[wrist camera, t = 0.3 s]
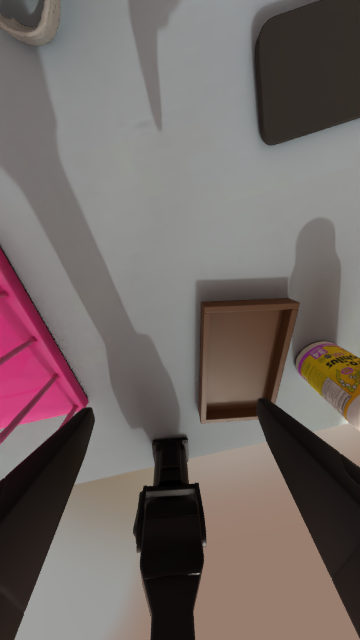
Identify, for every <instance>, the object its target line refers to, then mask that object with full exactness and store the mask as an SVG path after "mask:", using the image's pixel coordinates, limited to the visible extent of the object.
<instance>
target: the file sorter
mask: <svg viewBox="0 0 360 640" xmlns="http://www.w3.org/2000/svg"><path fill="white" fill-rule="evenodd" d="M88 402H89V401H88V399H87V397H86V395H85V394H84V392H83V390H82V389H81V387H80V385H79V383H78V382H77V380H76V378H75V376H74V375H73V373H72V371H71V370H70V368H69V366H68V364H67V363H66V361H65V359H64V357H63V356H62V354H61V352H60V350H59V349H58V347H57V345H56V344H55V342H54V340H53V338H52V337H51V335H50V333H49V331H48V330H47V328H46V326H45V324H44V323H43V321H42V319H41V317H40V316H39V314H38V312H37V311H36V309H35V307H34V305H33V304H32V302H31V300H30V299H29V297H28V295H27V293H26V292H25V290H24V288H23V286H22V285H21V283H20V281H19V279H18V278H17V276H16V274H15V273H14V271H13V269H12V267H11V266H10V264H9V262H8V261H7V259H6V257H5V255H4V254H3V252H2V250H1V248H0V429H1V428H5V429H4V430H3V431H2V432H1V433H0V444H1V443H2V442H3V441H4V440H5V439H6V437H7V436H8V435H9V434H10V433H11V432H12V431H13V429H14V428H15V427H16V426H17V425H20V424H24V423H29V422H34V421H38V420H42V419H47V418H51V417H56V416H61V415H65V414H68V415H67V417H66V418H65V420H64V422H63V423H62V425H61V426H60V428H61V427H62V426H63V425H64V424H65V423H66V422H67V421H69V420H70V419H71V418H72V416H73V415H74V413H75V412H78V411H80V410H81V409H82V408H85V407H86V405H87V404H88ZM60 428H59V429H60Z"/></svg>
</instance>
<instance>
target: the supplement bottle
mask: <svg viewBox="0 0 360 640" xmlns="http://www.w3.org/2000/svg"><path fill="white" fill-rule="evenodd" d="M296 369H297V372H298V373H299V374H300V375H301V376H302V378H303V379H304V380H306V381H307V382H308V383H309V384H310V385H311V386H312V387H313V388H314V389H315V390H316V391H317V392H318V393H319V394H320V395H321V396H322V397H323V398H324V399H325V400H326V401H327V402H329V403H330V404H331V405H332V406H333V407H334V408H335V409H336V410H337V411H338V412H339V413H340V414H341V415H342V416H343V417H344V418H345V419H346V420H347V421H348V422H349V423H350V424H351V425H352V426H353V427H355V428H356V429H357V430H359V431H360V358H358V357H357V356H355V355H353V354H352V353H350V352H348V351H346V350H344V349H343V348H341V347H339V346H337V345H336V344H334V343H331V342H325V341H322V342H316V343H313V344H311V345H309V346H307V347H306V348H305V349H303V350H302V351H301V352H300V354H299V355H298V357H297V359H296Z"/></svg>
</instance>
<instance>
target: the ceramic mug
mask: <svg viewBox="0 0 360 640" xmlns="http://www.w3.org/2000/svg"><path fill="white" fill-rule="evenodd" d="M60 8H61V7H60V0H44V8H43V10H42V16H41V20H40V22H39V24H38V26H37V27H27V26H24V25H22V24H19V23H18V22H17V21H16V20H15V19H14V18H11V19H8V18H6V17H4V16H3V15H1V14H0V27H1V28H2V29H4V30H5V31H6V32H8V33H9V34H10V35H12V36H13V37H15V38H16V39H18V40H19V41H21V42H23V43H24V44H28V45H33V46H41V45H44V44H47V43H49V42H50V41H51V40H52V39H53V38H54V37H55V35H56V32H57V28H58V25H59V20H60Z"/></svg>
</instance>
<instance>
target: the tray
mask: <svg viewBox="0 0 360 640" xmlns="http://www.w3.org/2000/svg"><path fill="white" fill-rule="evenodd" d="M299 304H300V303H299V302H296V301H294V300H292V299H289V298H284V299H260V300H236V301H212V302H201V332H200V380H199V416H200V422H201V424H203V423H217V422H230V421H244V420H258V416H257V413H256V406H257V401H258V399H259V398H267V399H269V400H270V401H271V402H273V403H274V404H275V402H276V398H277V394H278V390H279V386H280V382H281V378H282V374H283V370H284V365H285V361H286V357H287V353H288V349H289V345H290V341H291V337H292V333H293V329H294V325H295V321H296V317H297V313H298V308H299Z"/></svg>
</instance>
